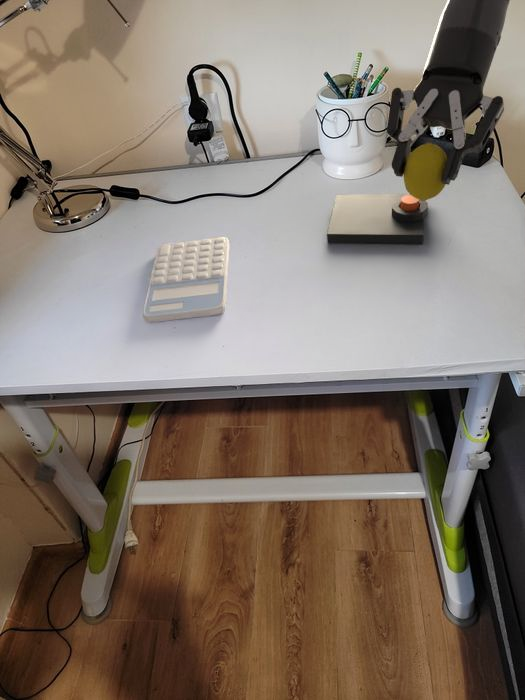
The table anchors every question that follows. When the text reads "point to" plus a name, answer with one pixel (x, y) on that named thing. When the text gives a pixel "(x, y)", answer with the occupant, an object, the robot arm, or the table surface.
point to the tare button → (409, 203)
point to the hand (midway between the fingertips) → (421, 178)
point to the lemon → (425, 171)
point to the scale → (375, 220)
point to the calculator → (188, 280)
